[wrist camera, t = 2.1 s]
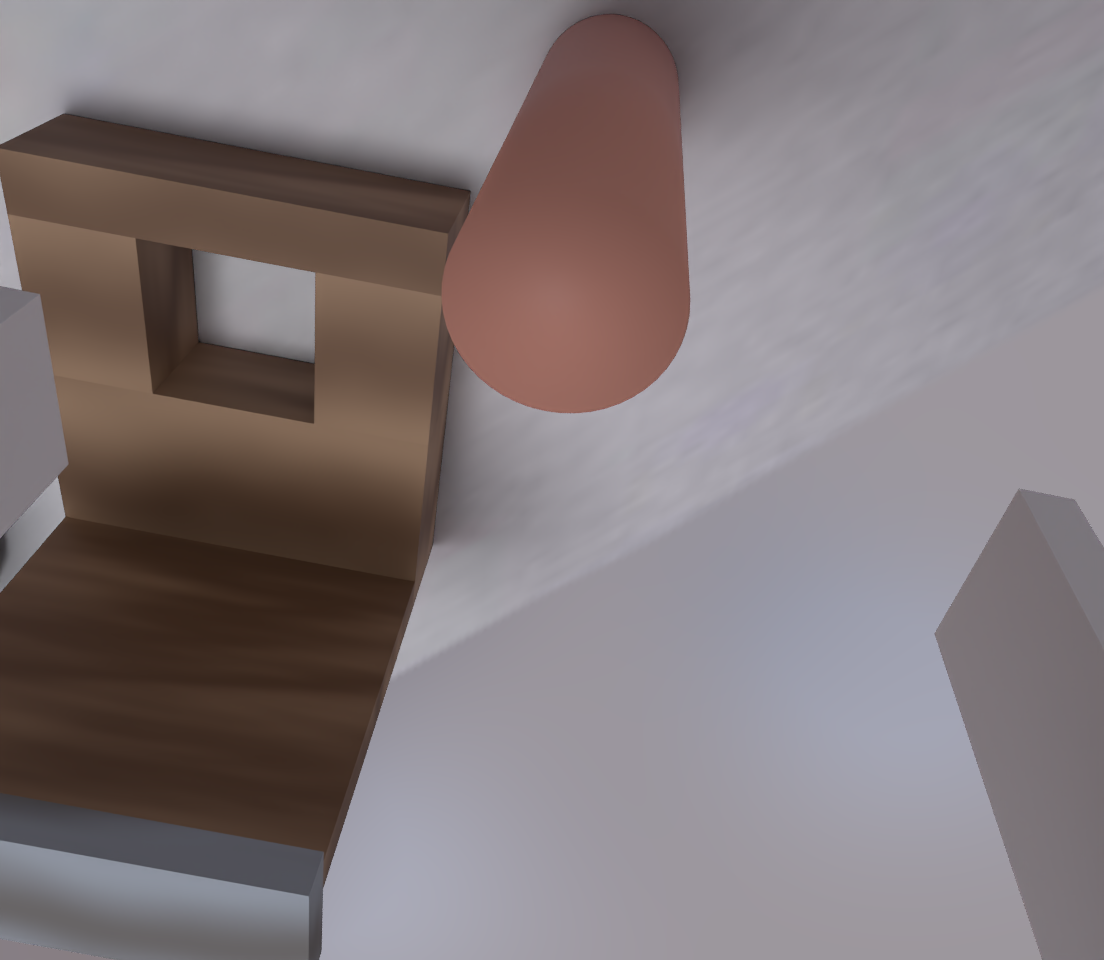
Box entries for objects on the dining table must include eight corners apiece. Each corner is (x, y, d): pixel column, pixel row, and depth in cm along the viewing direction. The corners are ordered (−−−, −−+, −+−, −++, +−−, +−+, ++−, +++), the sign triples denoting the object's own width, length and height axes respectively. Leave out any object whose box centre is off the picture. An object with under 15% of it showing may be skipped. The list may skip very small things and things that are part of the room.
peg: (550, 1, 28) (453, 158, 15) (693, 28, 28) (718, 209, 15) (529, 147, 31) (431, 389, 18) (661, 172, 31) (658, 432, 18)
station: (49, 111, 32) (-551, 396, 16) (485, 193, 32) (311, 556, 16) (107, 485, 41) (-236, 896, 25) (443, 548, 41) (308, 994, 26)
